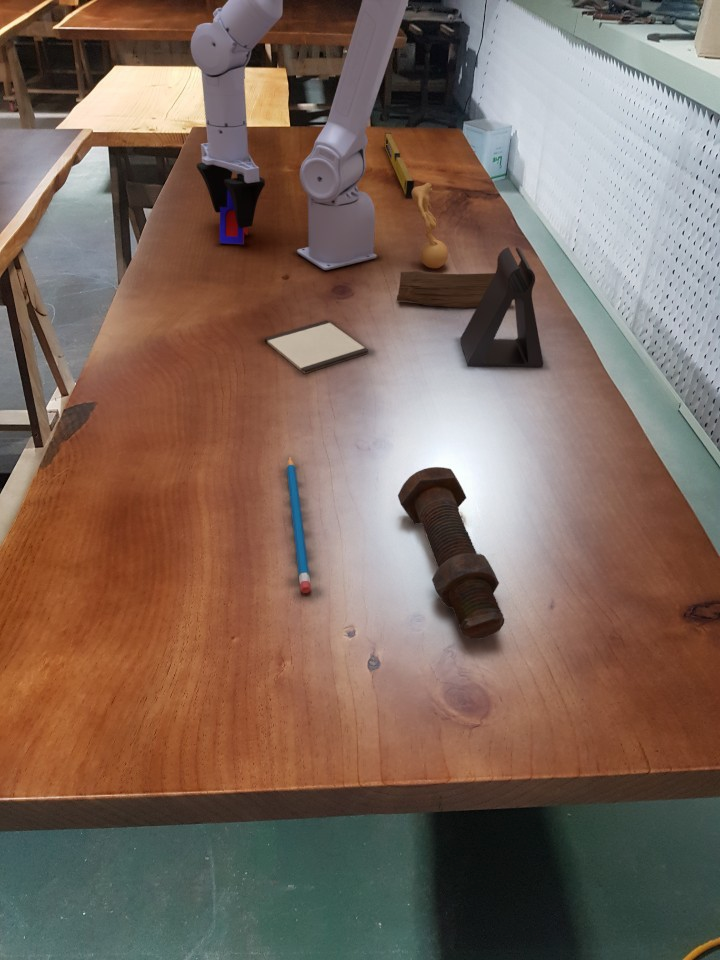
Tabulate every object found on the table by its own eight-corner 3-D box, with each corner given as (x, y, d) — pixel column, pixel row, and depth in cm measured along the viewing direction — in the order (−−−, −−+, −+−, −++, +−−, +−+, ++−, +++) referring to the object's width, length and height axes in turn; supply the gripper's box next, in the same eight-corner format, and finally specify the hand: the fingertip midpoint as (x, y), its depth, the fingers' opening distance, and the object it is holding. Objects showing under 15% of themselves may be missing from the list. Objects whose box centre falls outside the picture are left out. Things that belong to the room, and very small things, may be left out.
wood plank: (508, 303, 97) (515, 268, 94) (511, 310, 96) (518, 274, 92) (396, 302, 96) (399, 266, 93) (397, 308, 95) (400, 272, 91)
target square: (327, 323, 90) (326, 320, 90) (368, 353, 85) (368, 350, 85) (264, 341, 86) (264, 337, 86) (304, 373, 81) (304, 370, 80)
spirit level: (412, 197, 130) (414, 180, 128) (405, 197, 130) (406, 180, 128) (390, 147, 156) (391, 132, 154) (384, 147, 155) (384, 132, 154)
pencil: (300, 593, 55) (300, 587, 55) (285, 459, 68) (285, 453, 68) (311, 592, 55) (311, 586, 55) (293, 459, 68) (293, 453, 68)
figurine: (446, 279, 102) (457, 193, 95) (404, 276, 102) (411, 190, 95) (445, 257, 109) (455, 175, 101) (406, 254, 109) (413, 172, 101)
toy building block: (247, 247, 113) (248, 193, 111) (242, 244, 109) (243, 188, 107) (225, 246, 113) (225, 192, 111) (219, 242, 109) (220, 187, 107)
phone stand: (531, 342, 88) (551, 248, 81) (542, 367, 84) (565, 269, 76) (459, 341, 88) (473, 246, 80) (466, 366, 83) (481, 267, 76)
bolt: (466, 662, 53) (416, 521, 64) (528, 633, 52) (467, 496, 63) (437, 624, 49) (389, 482, 60) (503, 593, 48) (442, 454, 59)
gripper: (178, 113, 104) (188, 208, 112) (224, 137, 95) (231, 238, 103) (222, 109, 107) (229, 201, 115) (270, 131, 98) (274, 230, 107)
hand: (233, 218), depth 110 cm, fingers open, 7 cm apart
